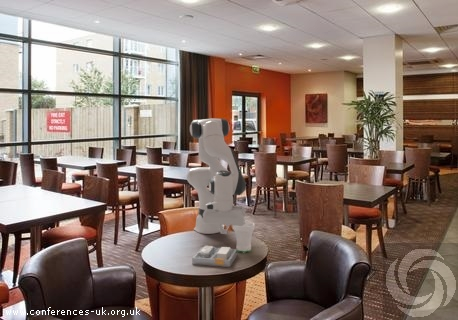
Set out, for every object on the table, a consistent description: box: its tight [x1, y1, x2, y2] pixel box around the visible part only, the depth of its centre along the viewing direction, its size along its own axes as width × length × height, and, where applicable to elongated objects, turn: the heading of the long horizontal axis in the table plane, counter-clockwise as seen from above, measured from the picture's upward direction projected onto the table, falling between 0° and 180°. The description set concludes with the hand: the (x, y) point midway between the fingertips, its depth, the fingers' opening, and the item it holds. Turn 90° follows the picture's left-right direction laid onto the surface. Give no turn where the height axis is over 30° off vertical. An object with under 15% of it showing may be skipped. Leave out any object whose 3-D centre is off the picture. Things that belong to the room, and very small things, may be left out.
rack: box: [191, 245, 238, 268], centre depth 194 cm, size 17×18×5 cm
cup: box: [232, 220, 256, 254], centre depth 206 cm, size 11×11×14 cm
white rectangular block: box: [217, 246, 232, 260], centre depth 193 cm, size 10×4×4 cm, turn 167°
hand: (223, 233), depth 192 cm, fingers closed
